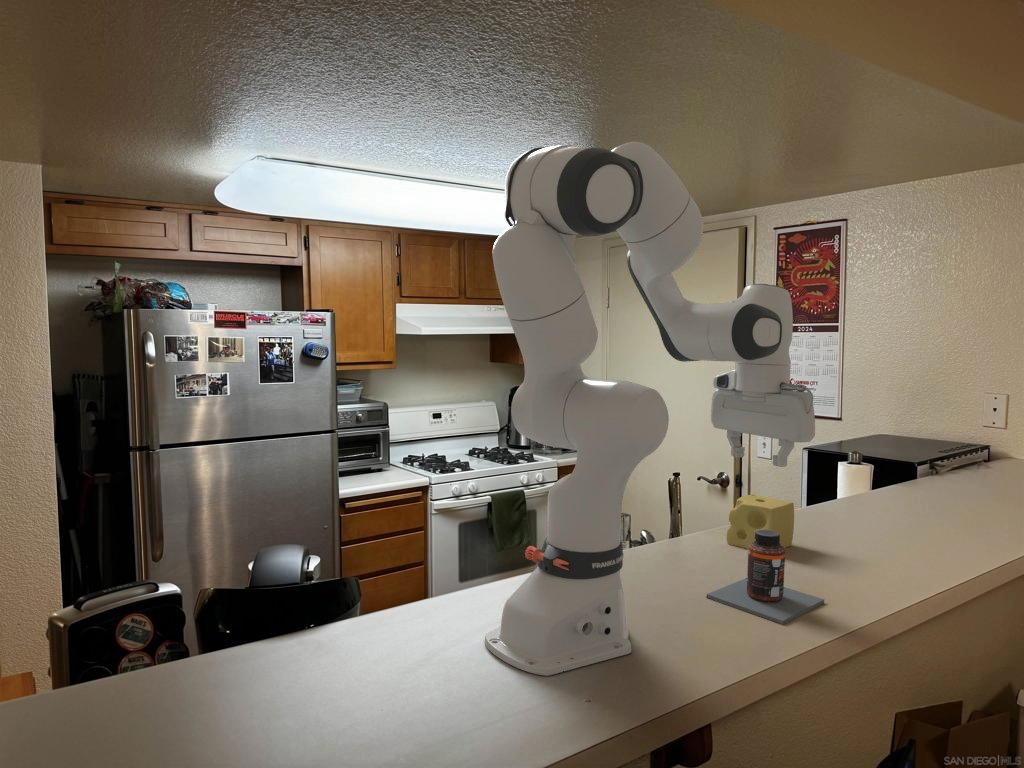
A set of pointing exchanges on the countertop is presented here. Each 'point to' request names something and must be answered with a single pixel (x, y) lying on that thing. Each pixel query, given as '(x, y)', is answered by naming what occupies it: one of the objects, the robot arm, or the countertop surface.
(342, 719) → the countertop surface
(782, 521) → the cheese
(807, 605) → the mat
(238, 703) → the countertop surface
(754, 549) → the supplement bottle
